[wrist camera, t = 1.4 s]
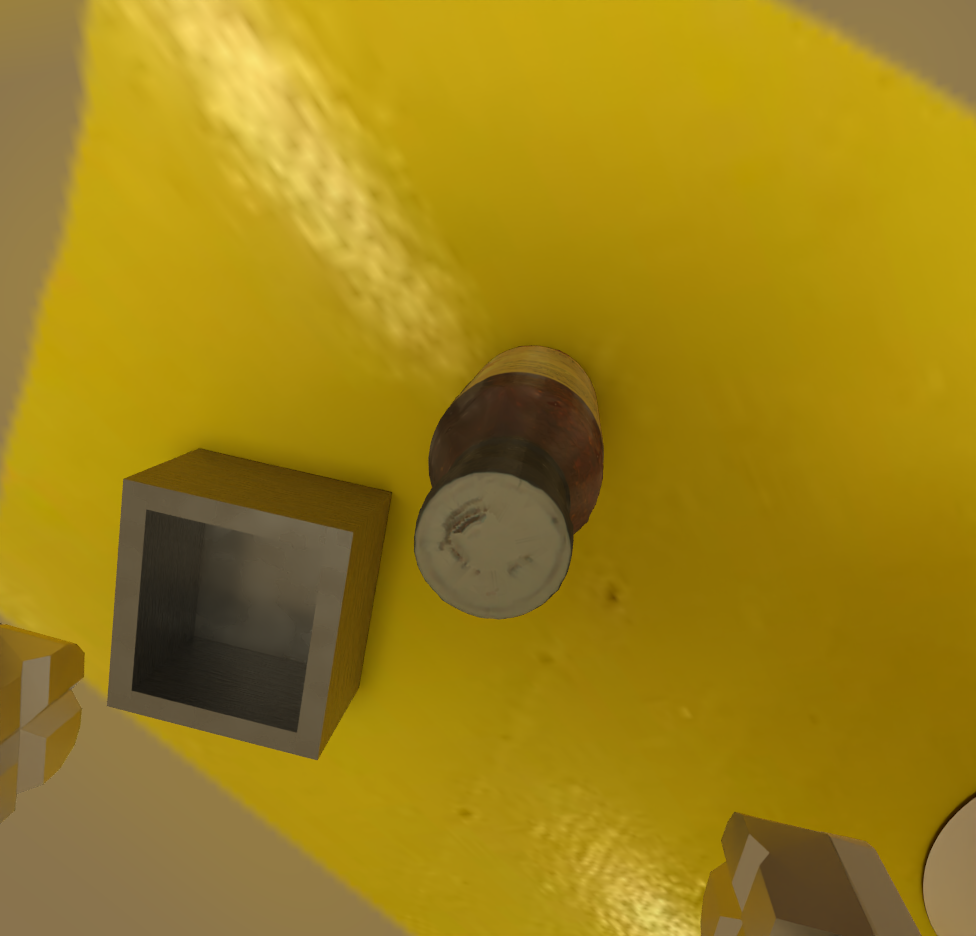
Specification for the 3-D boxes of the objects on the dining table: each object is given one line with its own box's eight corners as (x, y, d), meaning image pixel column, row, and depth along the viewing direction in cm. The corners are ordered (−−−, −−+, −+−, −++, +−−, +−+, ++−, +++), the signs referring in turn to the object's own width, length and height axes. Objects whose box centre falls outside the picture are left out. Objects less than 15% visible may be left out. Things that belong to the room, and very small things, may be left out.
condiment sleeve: (391, 492, 39) (353, 532, 33) (358, 687, 42) (317, 760, 36) (198, 448, 40) (123, 478, 34) (179, 643, 43) (107, 705, 37)
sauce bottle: (465, 352, 37) (338, 415, 18) (589, 334, 36) (596, 380, 17) (484, 477, 38) (386, 661, 19) (605, 463, 38) (627, 642, 18)
